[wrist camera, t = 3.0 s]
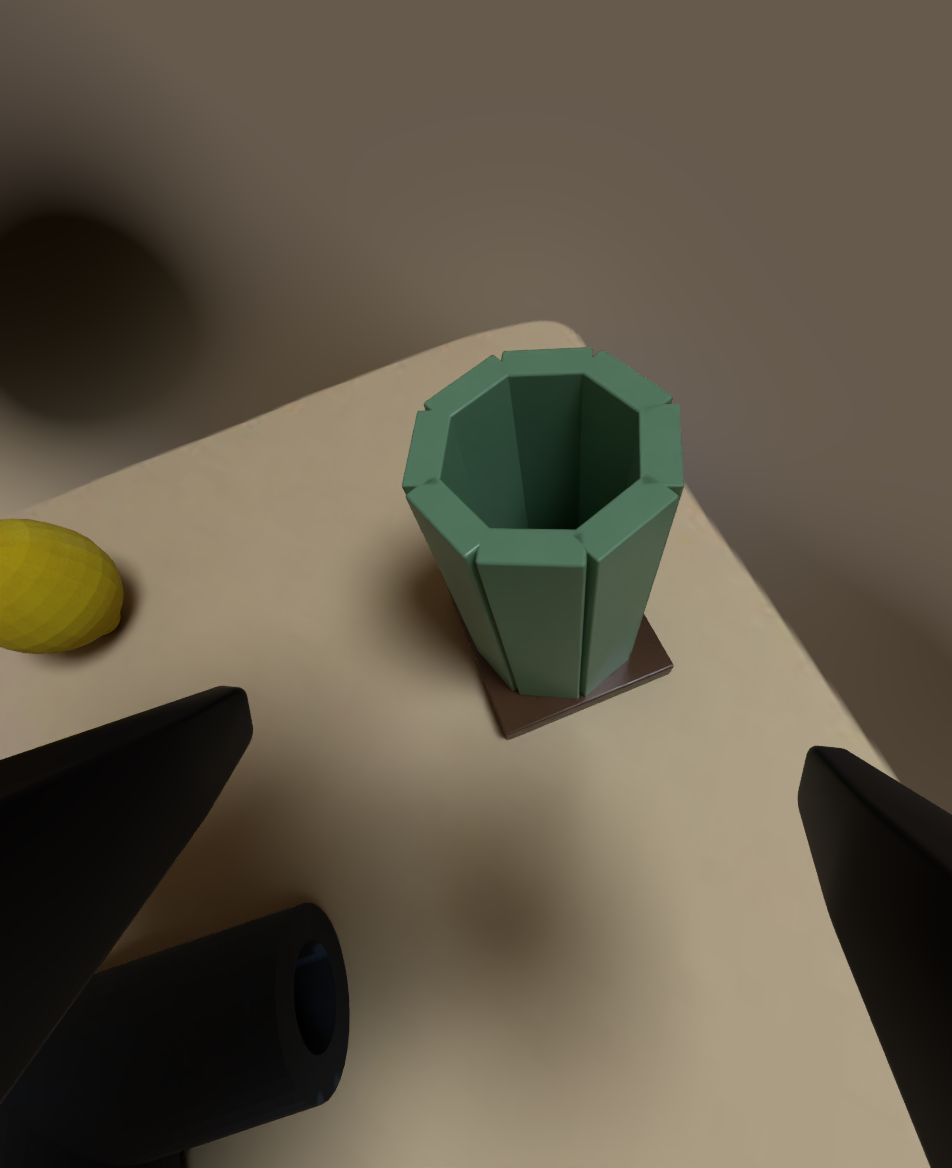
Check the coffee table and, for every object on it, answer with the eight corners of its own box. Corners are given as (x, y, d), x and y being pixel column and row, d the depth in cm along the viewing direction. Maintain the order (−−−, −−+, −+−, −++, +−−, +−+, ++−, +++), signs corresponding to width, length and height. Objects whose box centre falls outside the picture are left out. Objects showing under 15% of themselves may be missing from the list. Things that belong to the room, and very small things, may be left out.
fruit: (122, 554, 29) (-26, 458, 21) (183, 606, 26) (41, 518, 19) (37, 636, 27) (-152, 562, 20) (95, 698, 25) (-93, 639, 18)
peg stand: (670, 673, 21) (703, 616, 16) (508, 740, 21) (487, 705, 16) (592, 536, 25) (598, 451, 19) (451, 594, 24) (417, 524, 19)
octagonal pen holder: (664, 628, 21) (745, 442, 11) (546, 731, 20) (524, 623, 10) (558, 531, 24) (549, 312, 14) (449, 617, 23) (358, 447, 13)
